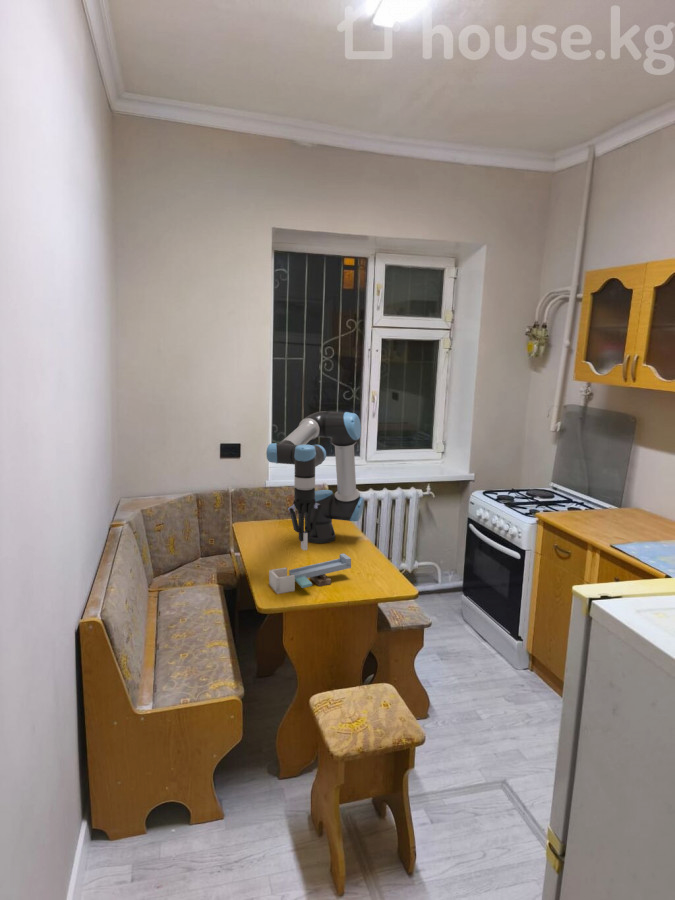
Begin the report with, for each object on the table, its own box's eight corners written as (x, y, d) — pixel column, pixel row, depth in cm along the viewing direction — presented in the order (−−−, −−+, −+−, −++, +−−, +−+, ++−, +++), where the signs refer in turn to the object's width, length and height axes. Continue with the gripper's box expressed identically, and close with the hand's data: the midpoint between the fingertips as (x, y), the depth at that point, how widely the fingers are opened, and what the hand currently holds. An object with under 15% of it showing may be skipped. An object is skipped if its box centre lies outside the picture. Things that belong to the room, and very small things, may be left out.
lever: (344, 562, 236) (344, 553, 236) (359, 574, 225) (359, 564, 224) (289, 575, 226) (288, 565, 225) (302, 588, 215) (301, 577, 214)
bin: (286, 581, 228) (286, 567, 227) (294, 590, 220) (294, 575, 219) (269, 584, 225) (269, 570, 224) (277, 593, 217) (277, 578, 216)
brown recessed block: (321, 575, 234) (321, 567, 234) (330, 584, 227) (331, 575, 226) (309, 577, 232) (310, 569, 232) (319, 586, 224) (319, 577, 224)
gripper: (316, 483, 218) (316, 543, 223) (284, 486, 212) (284, 548, 217) (325, 488, 212) (324, 549, 216) (291, 491, 206) (291, 554, 210)
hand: (304, 548), depth 216 cm, fingers closed
